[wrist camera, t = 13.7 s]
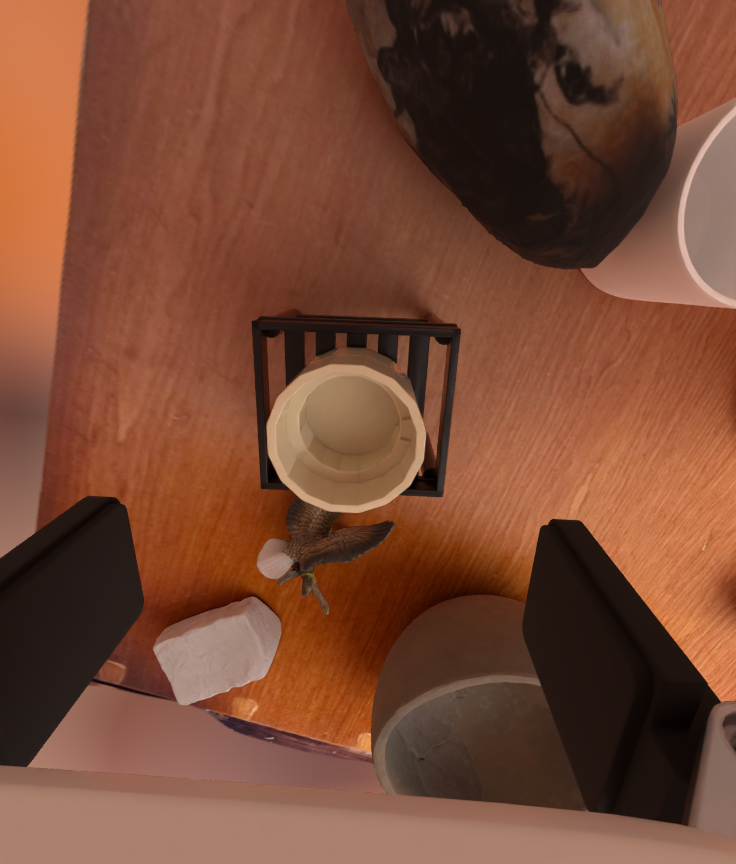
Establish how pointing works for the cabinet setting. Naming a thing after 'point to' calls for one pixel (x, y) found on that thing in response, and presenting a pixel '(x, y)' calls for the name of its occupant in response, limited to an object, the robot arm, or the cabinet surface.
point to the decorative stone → (532, 112)
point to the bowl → (468, 711)
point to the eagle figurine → (316, 546)
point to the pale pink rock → (218, 649)
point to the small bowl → (347, 431)
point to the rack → (357, 338)
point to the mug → (684, 224)
